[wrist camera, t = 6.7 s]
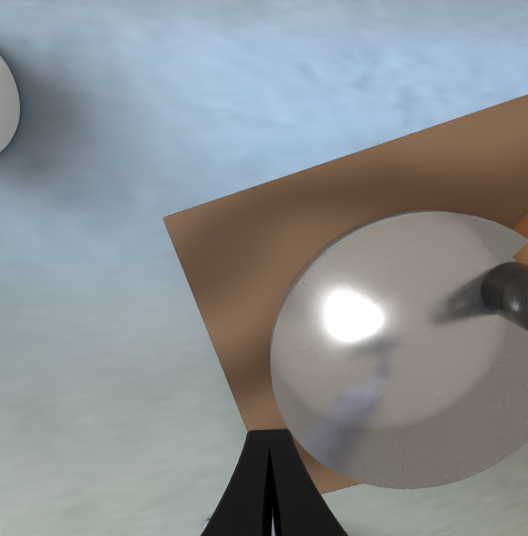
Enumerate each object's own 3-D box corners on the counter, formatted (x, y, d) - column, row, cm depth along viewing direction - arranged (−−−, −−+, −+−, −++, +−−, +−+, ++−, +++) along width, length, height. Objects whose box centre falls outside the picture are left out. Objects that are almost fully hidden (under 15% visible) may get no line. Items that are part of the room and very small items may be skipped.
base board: (562, 408, 23) (677, 494, 16) (276, 486, 24) (281, 594, 18) (521, 96, 18) (660, 51, 12) (169, 215, 19) (126, 230, 13)
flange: (400, 507, 20) (452, 627, 14) (212, 360, 17) (191, 440, 12) (648, 304, 17) (829, 361, 11) (464, 95, 14) (584, 44, 9)
